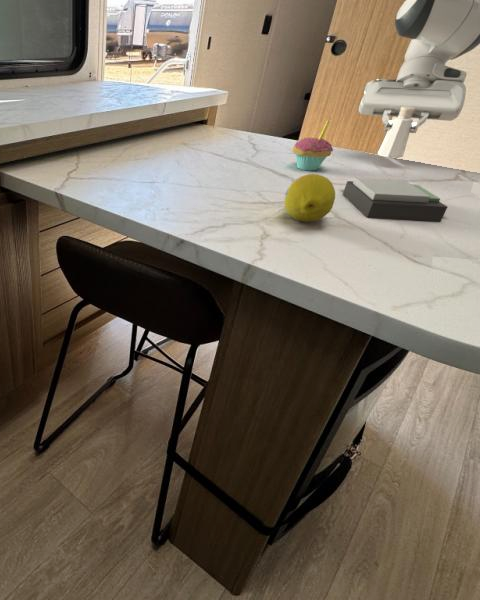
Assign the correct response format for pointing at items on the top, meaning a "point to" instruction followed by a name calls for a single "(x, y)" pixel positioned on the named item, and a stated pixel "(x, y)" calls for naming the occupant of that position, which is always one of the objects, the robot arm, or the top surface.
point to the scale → (393, 199)
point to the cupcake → (312, 151)
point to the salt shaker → (397, 134)
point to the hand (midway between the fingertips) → (399, 130)
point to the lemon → (309, 198)
